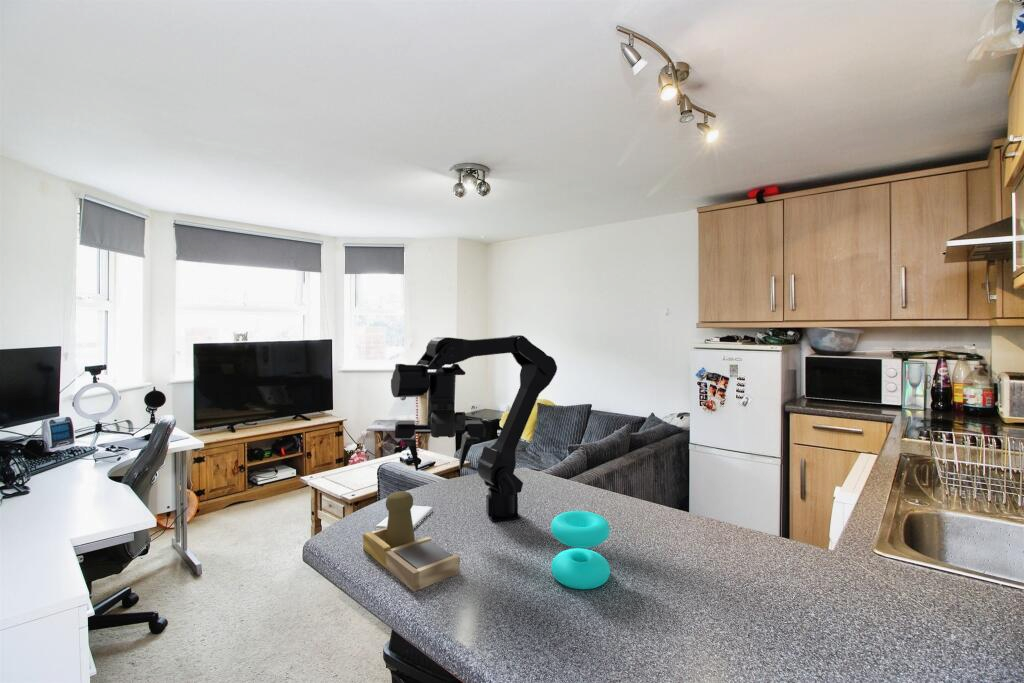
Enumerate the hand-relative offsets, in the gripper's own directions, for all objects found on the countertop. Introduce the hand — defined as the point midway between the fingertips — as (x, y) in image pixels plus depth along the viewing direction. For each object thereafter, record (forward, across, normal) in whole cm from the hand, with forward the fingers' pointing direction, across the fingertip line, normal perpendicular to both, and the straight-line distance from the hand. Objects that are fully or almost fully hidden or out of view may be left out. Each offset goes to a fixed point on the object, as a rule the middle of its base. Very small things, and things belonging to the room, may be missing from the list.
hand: (438, 469), depth 100 cm
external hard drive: (+14, -6, +8) cm, 18 cm away
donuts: (+13, +23, -25) cm, 36 cm away
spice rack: (+14, -6, -11) cm, 18 cm away
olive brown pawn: (+14, -8, -7) cm, 17 cm away
